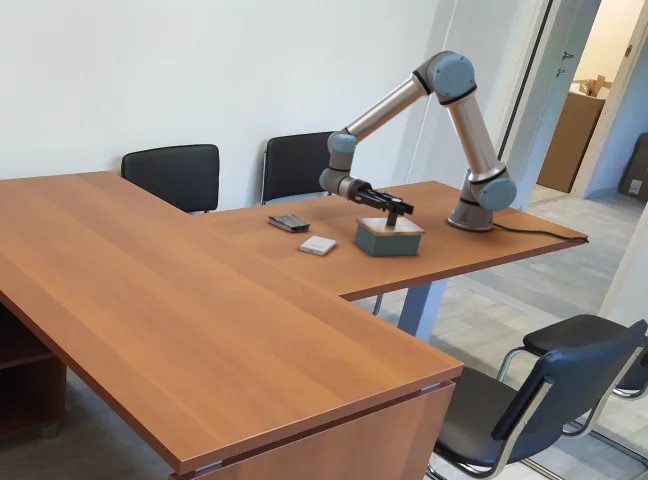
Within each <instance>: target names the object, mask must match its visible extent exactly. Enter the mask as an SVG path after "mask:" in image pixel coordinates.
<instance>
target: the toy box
mask: <svg viewBox="0 0 648 480" xmlns="http://www.w3.org/2000/svg"><path fill="white" fill-rule="evenodd" d="M421 239H422V235H395V236H375V235H374V234H372V233H371V232H369V231H368V230H367V229H365V228H364V227H362V226H361V225H359V224H358V223H357V229H356V233H355V237H354V242H353V243H354V244H355V245H356V246H358V247H359V248H360V249H361V250H363V251H364V252H366V253H367V254H368V255H370V256H371V257H384V256H385V257H388V256H389V257H390V256H416V255H417V254H418V250H419V248H420V243H421Z"/></svg>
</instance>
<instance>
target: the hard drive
mask: <svg viewBox="0 0 648 480" xmlns="http://www.w3.org/2000/svg"><path fill="white" fill-rule="evenodd" d="M337 243H338V242H337V240H335V239H330V238H327V237H326V238H325V237H321V236H318V235H312V236H311V237H310V238H308V239H307V240H306V241H304V242H303V243H302V244H300V245H299V247H298V250H299V251H300V252H305V253H308V254H309V253H310V254H313V255H317V256H321V257H323V256H324V255H326V254H327V253H328V252H329V251H330V250H332V249H333V248H334V247H335V246H336V245H337Z"/></svg>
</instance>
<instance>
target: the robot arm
mask: <svg viewBox="0 0 648 480" xmlns="http://www.w3.org/2000/svg"><path fill="white" fill-rule="evenodd" d="M475 75H476V74H475V68H474V65H473V63H472V62H471V61H470V59H469V58H468V57H466V56H465V55H462V54H459V53H456V52H455V51H452V50H443V51H440V52H438V53H435V54H433V55H432V56H431V57H429V58H428V59H427V60H426V61H425V62H423V63H422V64H421V65H419V66H418V67H417V68H416V69H414V70H413V71H412V72H411V73H410V76H409V78H408V79H405V81H404V82H402V83H401V84H400V85H399V86H397V87H396V88H394V89H393V90H392V91H390V92H389V93H388V94H387V95H385V96H384V97H383V98H381V99H380V100H379V101H377V102H376V103H375V104H373V105H372V106H371V107H370V108H368V109H367V110H366V111H364V112H363V113H361V115H359V116H358V117H356V118H355V119H354V120H353V121H351V122H350V123H348V124H347V125H346V126H345V127H343V128H342V129H341V130H339V131H334V132H333V133H331V134H330V135H329V137H328V139H327V143H326V145H327V150H328V152H329V154H330V158H329V165H328V167H327V168H325V169H324V170H323V171H322V172H321V175H320V176H319V179H318V180H319V181H318V183H319V185H320V188H322V189H323V190H325V191H327V192H328V193H331V194H334V195H336V196H339V197H341V198H344V199H345V200H346V201H347V202H349V201H351V202H353V203H355V204H358V205H365V206H369V207H370V208H373V209H376V210H378V211H379V210H381V209H382V210H381V212H383V213H386V211H388V212H389V211H391V212H393V213H396V214H398V216H400V217H404V216H405V214H407V215H409V216H412V215H413V213H414V210H415V206H414V205H413V204H410V203H407V202H405V201H404V199H403V198H402V197H399V196H398V195H395V194H392V193H390V192H389V191H387V190H383V191H379V190H378V189H376V188H373V186H372V184H371V183H370V182H368V181H367V180H363V179H361V178H359V177H356V176H353V175H351V170H352V166H353V160H354V156H355V152H356V149H357V146H358V145H359V144H360V143H362V142H363V141H364V140H366V139H367V138H368V137H370V136H371V135H372V134H374V133H375V132H376V131H378V130H379V129H381V128H382V127H383V126H385V125H386V124H387V123H388V122H390V121H391V120H393V119H394V118H395V117H397V116H398V115H399V114H401V113H403V112H404V111H405V110H407V109H408V108H409V107H411V105H413V104H414V103H416V102H417V101H419V100H420V99H422V98H424V97H425V98H428V97H429V96H431V95H432V94H434V93H435V96H436V98H437V101H438V104H439V106H440V107H442V108H446V110H447V113H448V115H449V118H450V121H451V123H452V126H453V128H454V130H455V133H456V136H457V138H458V141H459V144H460V146H461V149H462V151H463V155H464V156H465V160H466V163H467V164H468V168H466V174H465V178H464V182H463V185H462V188H461V192H460V195H459V198H458V201H457V204H456V205H455V207H454V208H452V210H451V212H450V214H449V216H448V219H447V223H448V224H449V225H450V226H452V227H455V228H457V229H461V230H464V231H470V232H477V233H478V232H480V233H481V232H482V233H483V232H490V231H491V230H492V229H493V226H494V227H497V228H500V229H502V230H505V231H509V232H514V233H525V234H544V235H549V236H552V237H555V238H558V239H561V240H567V241H577V240H581V241H584V242H585V243H586V244H590V241H589V240H588V238H586V237H583V236H575V237H573V236H571V237H568V236H563V235H560V234H557V233H554V232H550V231H546V230H532V229H531V230H530V229H529V230H528V229H516V228H511V227H507V226H504V225H501V224H498V223H496V222H494V213H497V212H501V211H503V210H506V209H507V208H509V207H510V206H511V205H512V204H513V203H514V201H515V200H516V198H517V193H518V188H517V185H516V183H515V182H514V180H512V178H511V176H510V173H509V171H508V168H507V165H506V163H505V162H504V161H501V160H499V159H498V156H497V153H496V150H495V148H494V145H493V142H492V140H491V137H490V134H489V131H488V128H487V126H486V123H485V120H484V117H483V115H482V112H481V109H480V107H479V104H478V101H477V98H476V92H477V91H478V85H477V82H476V79H475ZM392 199H399V200H401V205H398V204H396V203H393V202H391V201H392ZM571 238H572V239H571Z"/></svg>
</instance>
